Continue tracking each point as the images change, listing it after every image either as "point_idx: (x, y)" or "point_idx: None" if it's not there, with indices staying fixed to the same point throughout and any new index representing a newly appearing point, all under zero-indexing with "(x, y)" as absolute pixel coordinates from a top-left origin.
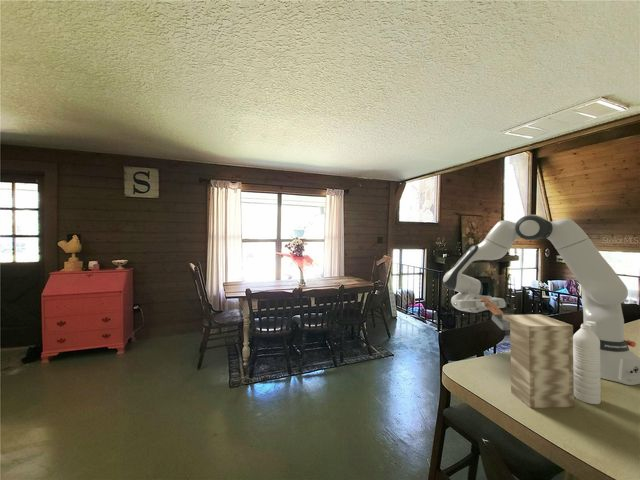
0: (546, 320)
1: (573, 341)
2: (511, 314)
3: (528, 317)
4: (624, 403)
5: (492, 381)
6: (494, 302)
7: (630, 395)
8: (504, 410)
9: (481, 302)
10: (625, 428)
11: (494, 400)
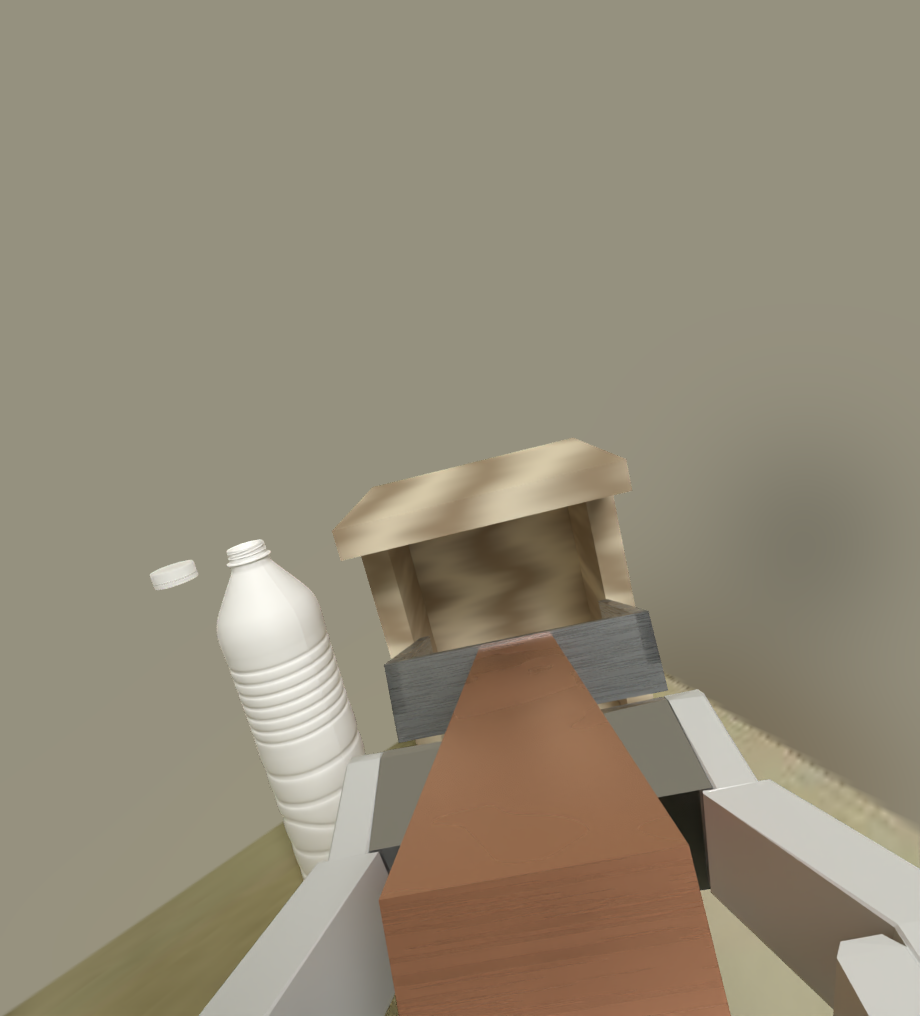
0: (421, 486)
1: (312, 632)
2: (406, 661)
3: (477, 483)
4: (242, 868)
5: (781, 977)
6: (376, 755)
7: (128, 937)
8: (750, 738)
9: (752, 777)
10: (409, 746)
11: (786, 784)
